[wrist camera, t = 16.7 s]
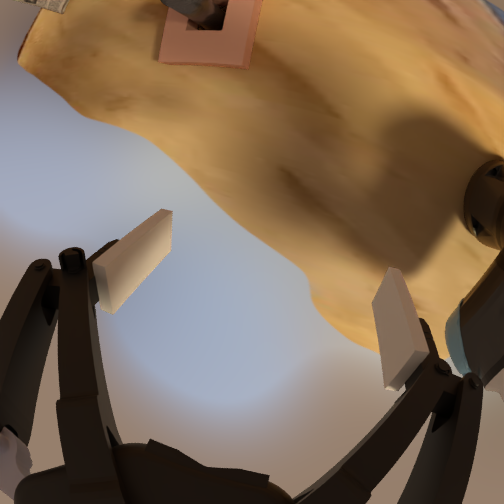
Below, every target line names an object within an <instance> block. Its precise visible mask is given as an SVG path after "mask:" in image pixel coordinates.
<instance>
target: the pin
mask: <svg viewBox="0 0 504 504" xmlns="http://www.w3.org/2000/svg"><path fill="white" fill-rule="evenodd" d="M161 2H162V3H163V4H165V5H166V6H168V7H170V8H172V9H174V10H175V11H177V12H179V13H180V14H182V15H184V16H186V17H187V18H189V19H191V20H192V21H194V22H195V23H197V24H199V25H200V26H202V27H203V28H205V29H207V30H215V31H221V30H222V29H223V24H224V20H225V15H226V13H225V12H224V11H223V10H222V9H221V8H219V7H218V6H217V5H216V4H215V3H214V2H213V1H212V0H161Z"/></svg>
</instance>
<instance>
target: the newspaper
mask: <svg viewBox="0 0 504 504" xmlns="http://www.w3.org/2000/svg"><path fill="white" fill-rule="evenodd" d="M14 1H18V2H22V3H27V4H31V5H35V6H38V7H41V8H45V9H48V10H51V11H55V12H58V13H61V12H64V11H65V8H66V6H67V4H68V2H69V0H14ZM61 14H64V13H61Z"/></svg>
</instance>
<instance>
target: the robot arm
mask: <svg viewBox="0 0 504 504" xmlns="http://www.w3.org/2000/svg"><path fill="white" fill-rule="evenodd" d="M464 215H465V220H466V224H467V226H468V228H469V230H470V232H471V233H472V234H473V235H474V236H475V237H476V239H477V240H478V241H480V242H481V243H482V244H484V245H486V246H488V247H491V248H494V249H497V250H500V253H499V254H498V256H497V257H496V259H495V260H494V261H493V263H492V264H491V265H490V267H489V268H488V269H487V271H486V272H485V273H484V275H483V276H482V277H481V279H480V280H479V281H478V282H477V284H476V285H475V286H474V287H473V288H472V290H471V291H470V292H469V293H468V294H467V296H466V297H465V298H463V299H462V300H461V301H460V303H459V305H458V307H457V308H456V309H455V311H454V312H453V313H452V314H451V315H450V317H449V318H448V320H447V322H446V327H445V339H446V345H447V348H448V351H449V354H450V357H451V359H452V361H453V363H454V365H455V367H456V368H457V370H458V372H459V373H460V374H462V375H463V378H461V377H458V376H456V375H454V374H452V370H451V367H450V366H449V364H448V363H447V362H446V361H444V360H443V359H441V358H439V355H438V351H437V348H436V345H435V342H434V340H433V336H432V334H431V331H430V328H429V325H428V324H427V323H426V321H425V320H424V319H422V318H418V315H417V312H416V309H415V307H414V304H413V301H412V298H411V296H410V293H409V291H408V288H407V285H406V283H405V280H404V278H403V275H402V273H401V271H400V269H397V268H393V267H390V266H389V267H388V270H387V272H386V274H385V276H384V279H383V281H382V283H381V285H380V287H379V289H378V291H377V293H376V295H375V297H374V299H373V301H372V307H373V312H374V318H375V324H376V330H377V336H378V342H379V349H380V355H381V363H382V370H383V379H384V388H385V389H386V390H394V391H399V389H400V388H401V387H402V386H403V385H404V384H405V387H406V391H405V392H404V393H403V394H402V395H401V396H400V397H399V398H398V399H397V401H396V402H395V404H394V405H393V406H392V407H391V409H390V410H389V411H388V412H387V413H386V414H385V415H384V417H383V418H382V419H381V420H380V421H379V422H378V423H377V424H376V426H375V427H374V428H373V429H372V430H371V431H370V432H369V433H368V434H367V435H366V436H365V437H364V438H363V439H362V440H361V441H360V442H359V443H358V444H357V445H356V446H355V447H354V448H353V449H352V450H351V451H350V452H349V453H348V454H347V455H346V456H345V457H344V458H343V459H342V460H340V462H338V463H337V464H336V465H335V466H334V467H333V468H332V469H331V470H329V471H328V472H327V473H326V474H325V475H323V476H322V477H321V478H320V479H319V480H317V481H316V482H315V483H314V484H312V485H311V486H310V487H309V488H307V489H306V490H304V491H303V492H301V493H300V494H299V495H297V496H296V497H294V498H293V499H292V498H291V497H290V496H289V495H288V494H287V493H286V492H285V491H284V490H283V489H281V488H280V487H279V486H277V485H275V484H273V483H271V482H269V481H268V480H269V475H266V474H261V473H256V472H251V471H247V470H243V469H232V468H231V469H230V468H212V467H206V466H203V465H202V464H200V463H198V462H197V461H195V460H193V459H192V458H190V457H188V456H187V455H185V454H183V453H182V452H180V451H179V450H177V449H174V448H172V447H169V446H167V445H164V444H162V443H159V442H157V441H154V440H152V439H150V440H149V442H148V444H143V443H127V444H123V443H122V441H121V438H120V436H119V433H118V430H117V427H116V424H115V420H114V416H113V412H112V408H111V404H110V399H109V395H108V390H107V385H106V380H105V375H104V369H103V363H102V357H101V351H100V344H99V336H98V328H97V319H96V309H95V304H96V303H97V302H98V301H99V303H100V307H101V310H103V311H106V312H108V313H110V314H114V313H115V312H116V311H117V310H118V309H119V307H120V306H121V305H122V304H123V303H124V302H125V301H126V299H127V298H128V297H129V296H130V295H131V294H132V293H133V292H134V290H135V289H136V288H137V287H138V286H139V285H140V284H141V283H142V281H143V280H144V279H145V278H146V277H147V276H148V275H149V274H150V273H151V272H152V271H153V269H154V268H155V267H156V266H157V265H158V264H159V263H160V262H161V261H162V260H163V259H164V258H165V257H166V255H167V254H168V253H169V252H170V251H171V235H172V234H171V233H172V211H169V210H165V209H160V210H159V211H158V212H156V213H155V214H154V215H152V216H151V217H150V218H148V219H147V220H145V221H144V222H143V223H142V224H140V225H139V226H138V227H136V228H135V229H134V230H132V231H131V232H130V233H128V234H127V235H126V236H125V237H123V238H122V239H121V240H117V239H116V240H113V241H111V242H108V243H107V244H106V245H104V246H103V247H102V248H100V249H99V250H98V251H97V252H95V253H94V254H93V255H92V256H90V257H89V258H88V259H87V260H86V259H85V253H84V250H83V249H81V248H78V247H72V248H68V249H65V250H63V251H62V252H61V253H60V254H59V256H58V257H59V262H60V266H61V269H53V268H52V265H51V262H50V261H49V260H48V259H38V260H35V261H34V262H32V263H31V264H30V266H29V267H28V269H27V270H26V272H25V274H24V275H23V277H22V279H21V281H20V283H19V284H18V286H17V288H16V290H15V292H14V294H13V295H12V297H11V299H10V301H9V303H8V305H7V307H6V309H5V311H4V313H3V316H2V318H1V319H0V490H2V491H3V492H4V493H5V494H7V495H8V496H9V497H10V498H12V499H13V500H14V504H366V502H367V501H368V500H369V499H370V497H371V491H372V490H373V489H374V488H375V487H376V486H377V484H378V483H379V482H380V481H381V480H382V479H383V478H384V476H385V475H386V474H387V473H388V472H389V470H390V469H391V468H392V467H393V466H394V464H395V463H396V461H398V459H399V458H400V457H401V455H402V454H403V453H404V451H405V450H406V449H407V447H408V446H409V445H410V443H411V442H412V440H413V439H414V438H415V436H416V434H417V433H418V432H419V430H420V429H421V427H422V426H423V424H424V423H425V421H426V420H427V418H428V416H429V415H430V413H431V412H432V415H431V419H430V422H429V426H428V429H427V432H426V435H425V438H424V441H423V444H422V447H421V449H420V452H419V455H418V457H417V460H416V463H415V465H414V468H413V470H412V472H411V475H410V477H409V479H408V482H407V484H406V486H405V489H404V490H403V493H402V495H401V497H400V499H399V501H398V503H397V504H462V501H463V498H464V495H465V492H466V488H467V485H468V481H469V477H470V473H471V469H472V464H473V460H474V456H475V451H476V445H477V440H478V433H479V427H480V419H481V410H482V399H483V386H484V388H485V389H486V390H487V391H495V392H498V393H500V395H501V397H502V399H503V401H504V161H500V160H494V161H490V162H487V163H486V164H484V165H482V166H481V167H480V168H479V169H478V170H477V171H476V172H475V174H474V175H473V177H472V178H471V180H470V182H469V184H468V187H467V190H466V194H465V199H464ZM57 320H58V371H59V387H60V400H57V402H56V412H57V419H58V428H59V435H60V441H61V446H62V452H63V457H64V461H65V465H62V466H58V467H55V468H52V469H48V470H45V471H41V472H38V473H34V474H30V468H31V467H32V460H31V458H30V452H29V450H28V448H27V446H28V443H29V440H30V436H31V431H32V426H33V419H34V413H35V407H36V402H37V396H38V391H39V386H40V382H41V378H42V373H43V369H44V365H45V361H46V357H47V354H48V350H49V346H50V343H51V339H52V336H53V333H54V330H55V326H56V323H57Z"/></svg>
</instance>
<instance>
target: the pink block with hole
mask: <svg viewBox="0 0 504 504" xmlns="http://www.w3.org/2000/svg"><path fill="white" fill-rule="evenodd" d="M212 1H213V2H214V3H215V4H216V5H217V6H225V7H227V10H226V15H225V20H224V24H223V29H222V31H215V30H198V25H199V24H197V23H195V22H194V21H192V20H191V19H189V18H187V17H186V16H184V15H182V14H180V13H179V12H177V11H175V10H174V9H172V8H170V7H169V9H168V13H167V18H166V22H165V27H164V32H163V37H162V42H161V47H160V53H159V59H158V62H160V63H165V64H169V65H202V66H218V67H230V68H240V69H249V65H250V59H251V54H252V49H253V44H254V39H255V34H256V29H257V24H258V19H259V14H260V9H261V5H262V0H212Z"/></svg>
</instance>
